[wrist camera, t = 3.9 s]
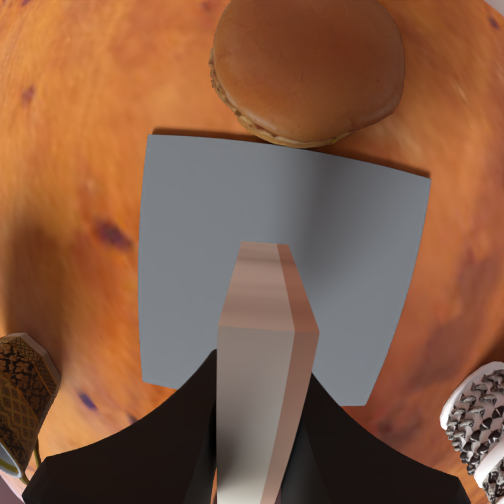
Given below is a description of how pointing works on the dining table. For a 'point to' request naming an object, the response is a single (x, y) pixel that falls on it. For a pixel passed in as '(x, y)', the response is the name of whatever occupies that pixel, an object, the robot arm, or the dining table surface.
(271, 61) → the burger
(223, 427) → the tile
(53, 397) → the ceramic cup
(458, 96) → the dining table surface
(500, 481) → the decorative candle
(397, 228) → the mat
